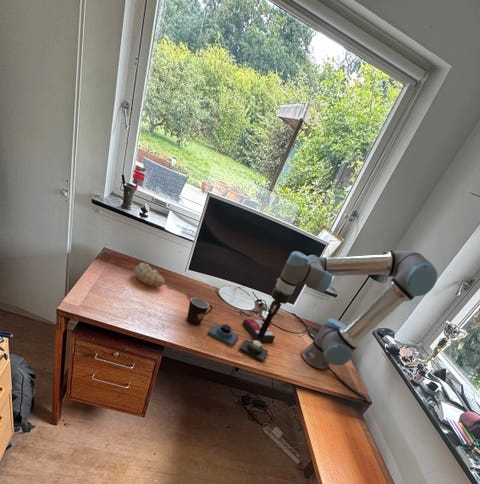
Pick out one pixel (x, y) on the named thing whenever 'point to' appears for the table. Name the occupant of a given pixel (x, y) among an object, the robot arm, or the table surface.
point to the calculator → (257, 330)
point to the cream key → (256, 344)
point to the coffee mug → (197, 310)
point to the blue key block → (223, 335)
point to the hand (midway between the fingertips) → (259, 337)
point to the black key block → (253, 351)
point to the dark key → (226, 328)
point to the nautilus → (148, 275)
